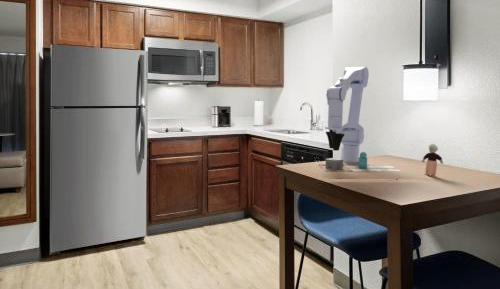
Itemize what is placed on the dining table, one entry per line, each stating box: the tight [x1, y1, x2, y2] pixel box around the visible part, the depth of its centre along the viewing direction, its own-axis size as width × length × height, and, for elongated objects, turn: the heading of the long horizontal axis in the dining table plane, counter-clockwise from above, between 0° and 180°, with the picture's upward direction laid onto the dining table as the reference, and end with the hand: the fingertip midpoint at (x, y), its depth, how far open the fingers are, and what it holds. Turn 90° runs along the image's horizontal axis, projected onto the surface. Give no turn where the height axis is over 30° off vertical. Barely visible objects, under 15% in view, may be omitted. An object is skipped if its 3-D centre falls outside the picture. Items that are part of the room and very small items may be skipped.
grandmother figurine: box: [421, 143, 444, 178], centre depth 151 cm, size 8×4×13 cm, turn 62°
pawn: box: [357, 151, 368, 169], centre depth 161 cm, size 3×3×7 cm
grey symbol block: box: [324, 157, 344, 170], centre depth 161 cm, size 5×5×5 cm
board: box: [318, 164, 401, 172], centre depth 161 cm, size 14×31×1 cm, turn 91°
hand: (334, 149), depth 161 cm, fingers open, 6 cm apart
